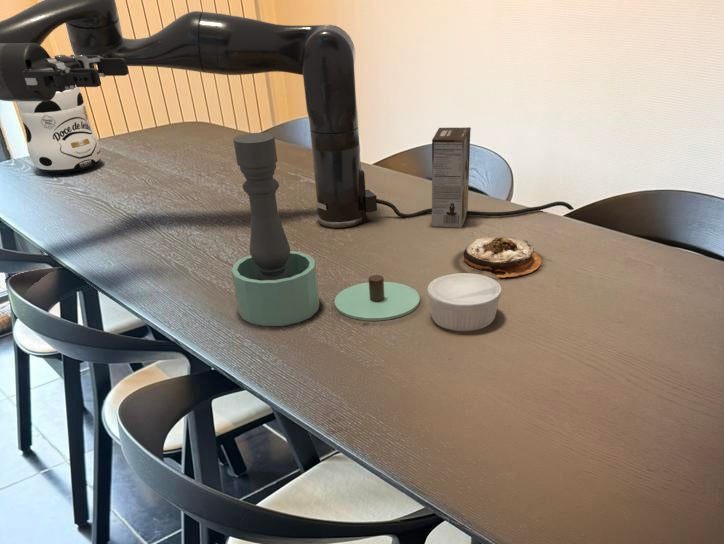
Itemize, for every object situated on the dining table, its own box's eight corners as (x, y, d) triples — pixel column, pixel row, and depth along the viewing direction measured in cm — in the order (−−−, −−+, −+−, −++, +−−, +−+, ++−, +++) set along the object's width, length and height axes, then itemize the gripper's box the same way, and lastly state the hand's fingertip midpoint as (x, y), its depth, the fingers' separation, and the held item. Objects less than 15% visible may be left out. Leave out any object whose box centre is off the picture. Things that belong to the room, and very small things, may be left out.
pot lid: (400, 282, 121) (399, 255, 118) (433, 313, 112) (434, 285, 109) (323, 297, 118) (321, 270, 115) (351, 331, 108) (349, 303, 105)
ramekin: (479, 343, 104) (481, 309, 100) (413, 327, 108) (413, 294, 105) (511, 313, 111) (514, 280, 107) (448, 299, 115) (449, 267, 112)
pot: (306, 289, 121) (301, 245, 116) (329, 319, 112) (325, 272, 107) (232, 303, 117) (224, 258, 112) (250, 335, 108) (242, 288, 103)
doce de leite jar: (92, 177, 178) (68, 95, 166) (24, 179, 178) (-4, 98, 166) (113, 158, 191) (92, 81, 179) (50, 160, 191) (25, 83, 180)
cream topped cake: (443, 271, 124) (443, 247, 121) (474, 242, 134) (475, 219, 131) (524, 283, 119) (526, 259, 116) (550, 252, 129) (553, 229, 126)
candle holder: (297, 298, 117) (276, 130, 100) (297, 315, 112) (275, 141, 96) (259, 301, 116) (232, 133, 100) (258, 318, 112) (229, 144, 95)
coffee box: (437, 211, 148) (438, 126, 137) (468, 212, 147) (471, 126, 136) (430, 227, 141) (431, 138, 131) (462, 228, 140) (466, 139, 130)
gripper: (-24, 51, 100) (80, 50, 97) (32, 36, 110) (128, 34, 107) (-3, 111, 105) (96, 111, 102) (49, 91, 115) (141, 91, 112)
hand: (112, 72), depth 105 cm, fingers open, 8 cm apart
